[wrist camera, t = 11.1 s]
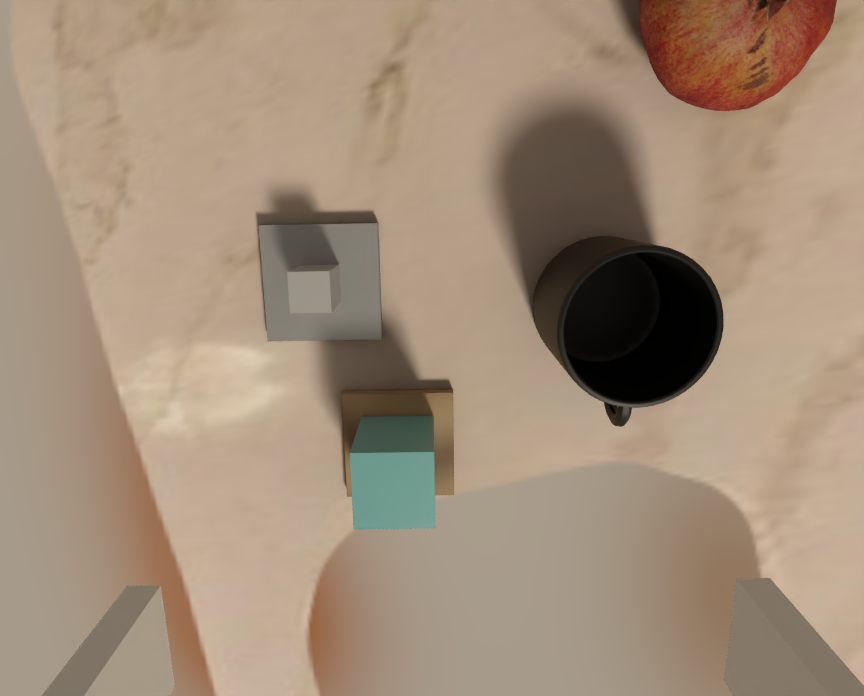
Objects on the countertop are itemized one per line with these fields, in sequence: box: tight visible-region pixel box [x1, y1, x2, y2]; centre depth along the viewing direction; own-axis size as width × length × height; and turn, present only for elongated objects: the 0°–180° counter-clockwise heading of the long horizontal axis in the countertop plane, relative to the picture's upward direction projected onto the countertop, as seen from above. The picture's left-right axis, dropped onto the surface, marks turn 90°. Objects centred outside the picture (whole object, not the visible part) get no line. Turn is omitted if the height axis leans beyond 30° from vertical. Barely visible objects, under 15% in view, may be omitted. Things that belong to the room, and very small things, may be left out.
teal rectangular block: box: [350, 416, 435, 529], centre depth 42 cm, size 5×5×7 cm
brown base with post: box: [342, 389, 454, 497], centre depth 42 cm, size 8×8×7 cm
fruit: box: [640, 0, 837, 111], centre depth 35 cm, size 11×10×10 cm
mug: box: [533, 236, 723, 427], centre depth 39 cm, size 9×12×9 cm
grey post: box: [258, 223, 382, 341], centre depth 41 cm, size 8×8×5 cm
